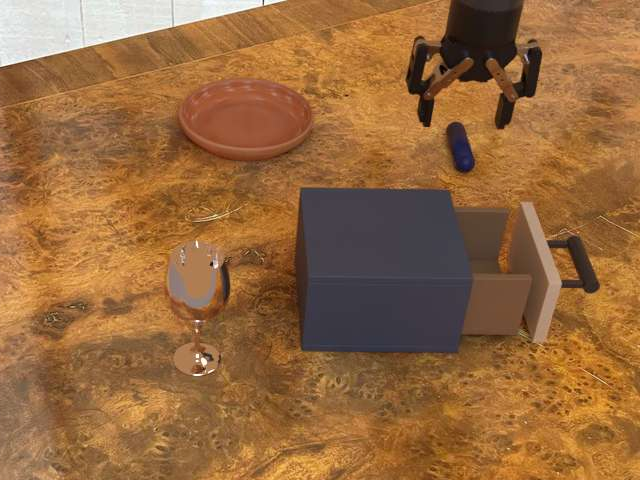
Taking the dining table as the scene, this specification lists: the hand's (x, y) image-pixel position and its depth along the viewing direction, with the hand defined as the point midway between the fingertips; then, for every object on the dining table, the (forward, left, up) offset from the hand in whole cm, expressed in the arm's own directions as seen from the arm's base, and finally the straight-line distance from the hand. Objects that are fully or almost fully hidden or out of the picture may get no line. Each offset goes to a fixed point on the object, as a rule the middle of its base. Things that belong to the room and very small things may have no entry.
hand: (462, 124), depth 123 cm
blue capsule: (0, 0, -4) cm, 4 cm away
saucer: (+25, -4, -4) cm, 25 cm away
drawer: (+2, +27, -3) cm, 27 cm away
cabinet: (+13, +27, -4) cm, 30 cm away
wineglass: (+30, +35, -4) cm, 46 cm away
